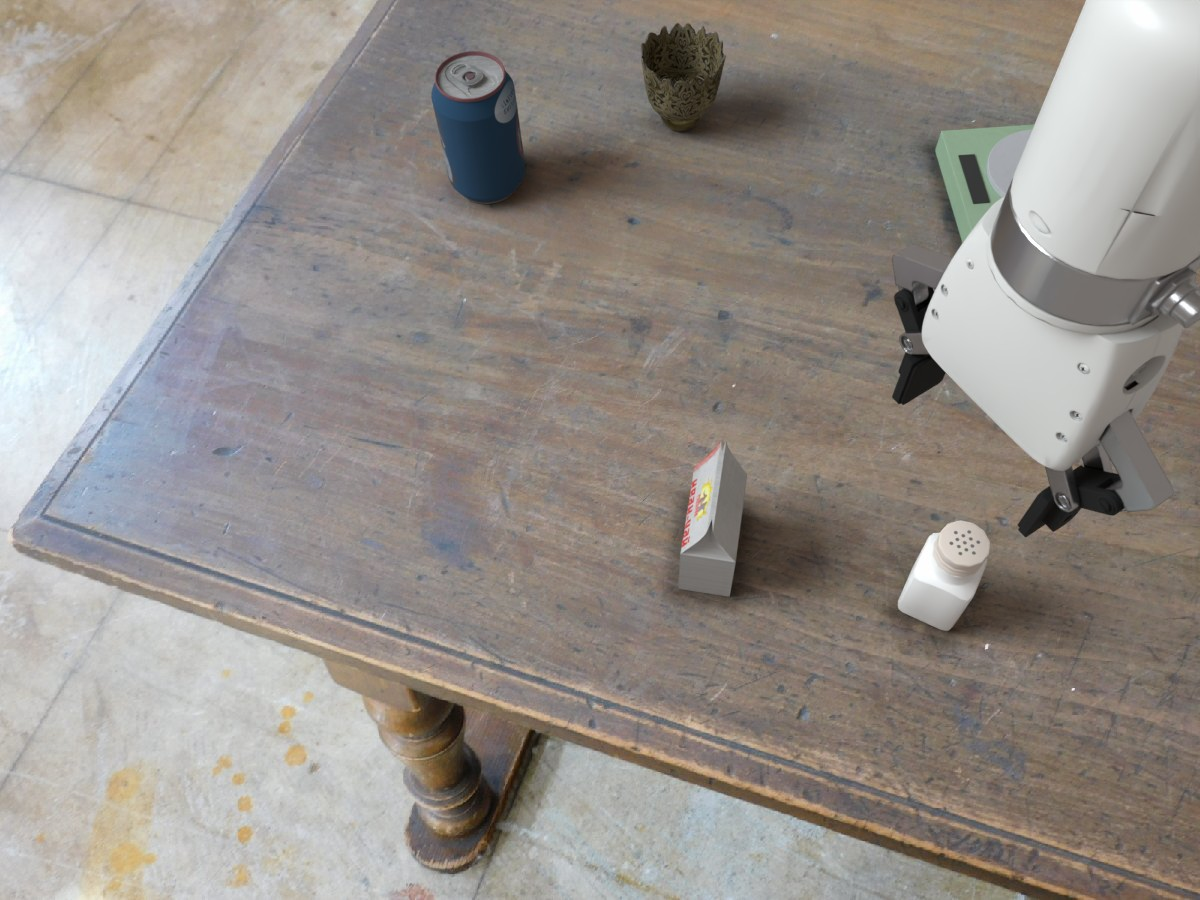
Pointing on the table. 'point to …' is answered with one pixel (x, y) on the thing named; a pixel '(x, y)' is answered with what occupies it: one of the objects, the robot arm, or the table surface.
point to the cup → (682, 73)
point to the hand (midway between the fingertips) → (976, 452)
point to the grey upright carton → (713, 524)
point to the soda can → (479, 126)
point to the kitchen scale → (979, 168)
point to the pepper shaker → (946, 575)
